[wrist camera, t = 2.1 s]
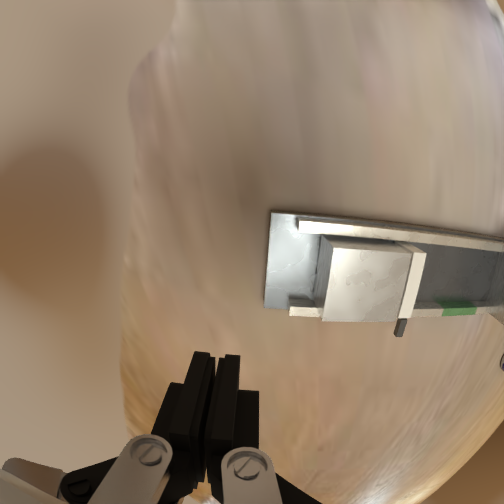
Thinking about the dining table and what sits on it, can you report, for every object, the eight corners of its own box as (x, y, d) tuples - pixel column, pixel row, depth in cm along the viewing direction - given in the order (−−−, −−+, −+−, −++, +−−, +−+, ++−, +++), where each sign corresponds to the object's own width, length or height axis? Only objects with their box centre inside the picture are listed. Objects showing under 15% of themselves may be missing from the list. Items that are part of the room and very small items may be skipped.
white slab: (394, 240, 22) (414, 252, 19) (406, 241, 22) (427, 253, 19) (378, 316, 24) (393, 337, 21) (389, 316, 24) (405, 336, 21)
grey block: (321, 234, 22) (333, 247, 18) (389, 240, 22) (411, 253, 18) (312, 297, 24) (321, 320, 20) (377, 299, 24) (395, 321, 20)
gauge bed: (270, 210, 24) (276, 230, 16) (507, 238, 23) (554, 259, 16) (263, 300, 26) (264, 352, 18) (491, 302, 26) (530, 333, 18)
